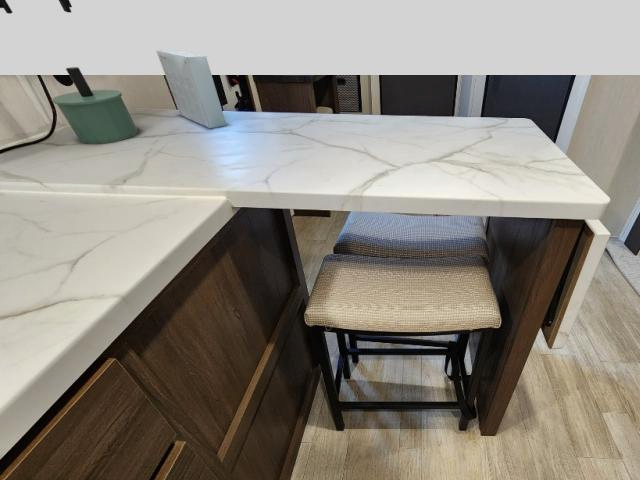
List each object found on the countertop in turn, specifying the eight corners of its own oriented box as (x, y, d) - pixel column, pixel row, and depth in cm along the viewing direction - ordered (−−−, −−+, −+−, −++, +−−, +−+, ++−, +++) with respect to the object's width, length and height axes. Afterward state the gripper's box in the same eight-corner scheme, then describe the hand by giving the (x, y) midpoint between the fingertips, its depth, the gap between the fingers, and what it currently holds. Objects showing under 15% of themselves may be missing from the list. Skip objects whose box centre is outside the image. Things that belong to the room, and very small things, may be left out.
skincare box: (229, 125, 92) (206, 55, 81) (210, 129, 89) (184, 57, 78) (197, 111, 103) (174, 48, 92) (179, 114, 100) (152, 49, 89)
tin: (87, 147, 79) (62, 107, 73) (74, 136, 85) (50, 98, 79) (144, 135, 85) (126, 97, 80) (129, 125, 92) (110, 90, 86)
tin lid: (62, 111, 73) (40, 75, 68) (49, 101, 79) (28, 68, 75) (131, 100, 80) (115, 67, 76) (114, 92, 87) (98, 61, 82)
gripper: (27, -107, 63) (85, 11, 75) (-108, -125, 54) (-18, 13, 66) (34, -113, 60) (94, 12, 71) (-109, -133, 50) (-14, 14, 62)
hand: (40, 12), depth 69 cm, fingers open, 9 cm apart
